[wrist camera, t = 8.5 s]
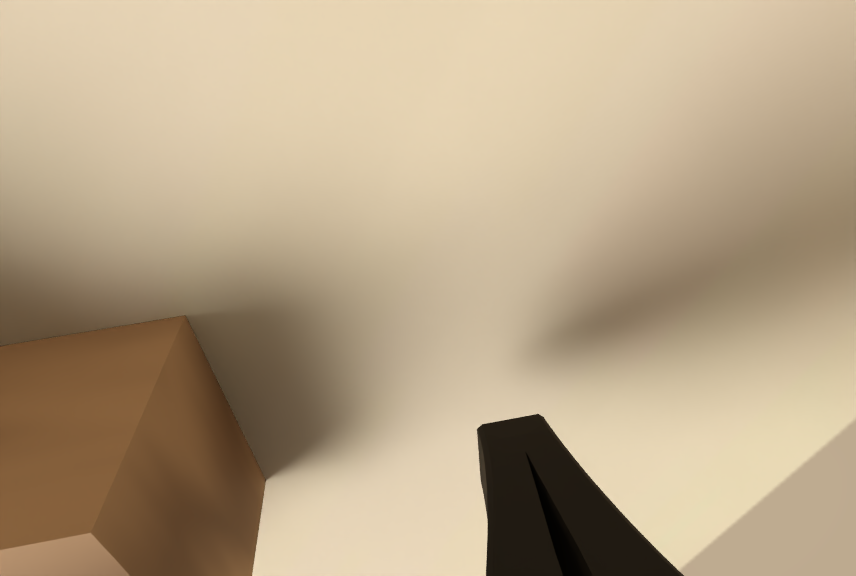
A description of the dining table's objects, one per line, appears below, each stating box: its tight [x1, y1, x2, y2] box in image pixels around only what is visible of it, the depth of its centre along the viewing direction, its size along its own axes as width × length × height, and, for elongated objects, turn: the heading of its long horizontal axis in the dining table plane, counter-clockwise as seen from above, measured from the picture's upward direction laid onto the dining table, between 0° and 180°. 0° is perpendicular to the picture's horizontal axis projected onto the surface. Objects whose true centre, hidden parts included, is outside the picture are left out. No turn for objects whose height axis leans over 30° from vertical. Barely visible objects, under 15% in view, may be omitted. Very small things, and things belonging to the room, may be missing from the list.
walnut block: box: [0, 316, 266, 576], centre depth 10 cm, size 6×5×5 cm
